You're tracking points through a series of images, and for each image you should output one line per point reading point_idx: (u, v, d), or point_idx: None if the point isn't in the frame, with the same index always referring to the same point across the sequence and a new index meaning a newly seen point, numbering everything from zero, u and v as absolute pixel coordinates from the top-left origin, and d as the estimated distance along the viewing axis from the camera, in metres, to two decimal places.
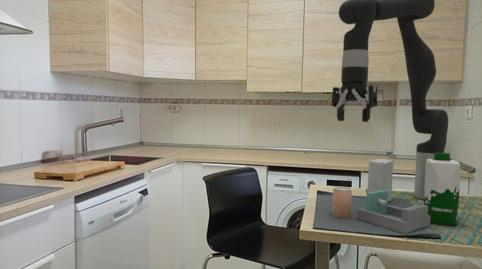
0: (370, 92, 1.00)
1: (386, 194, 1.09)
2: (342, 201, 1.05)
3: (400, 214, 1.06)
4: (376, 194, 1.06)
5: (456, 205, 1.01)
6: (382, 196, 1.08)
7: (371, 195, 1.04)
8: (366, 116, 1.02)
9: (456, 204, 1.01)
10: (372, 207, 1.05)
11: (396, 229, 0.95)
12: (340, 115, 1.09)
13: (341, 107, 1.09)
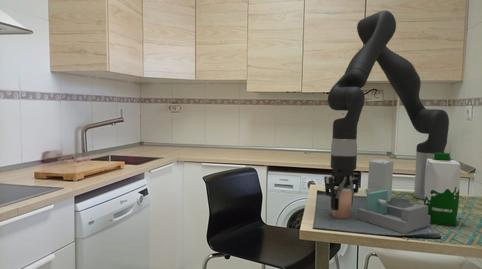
0: (358, 180, 1.10)
1: (386, 194, 1.09)
2: (342, 201, 1.05)
3: (400, 214, 1.06)
4: (376, 194, 1.06)
5: (456, 205, 1.01)
6: (382, 196, 1.08)
7: (371, 195, 1.04)
8: (352, 202, 1.10)
9: (456, 204, 1.01)
10: (372, 207, 1.05)
11: (396, 229, 0.95)
12: None
13: None
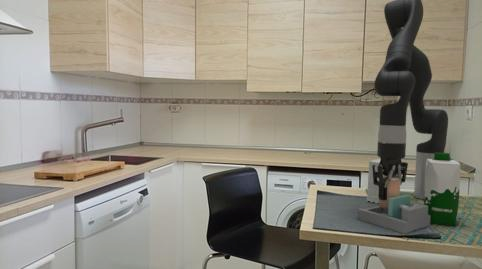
0: (406, 169, 1.06)
1: (408, 199, 1.03)
2: (391, 191, 1.01)
3: None
4: (398, 199, 1.00)
5: (455, 205, 1.01)
6: (405, 202, 1.02)
7: (393, 200, 0.98)
8: None
9: (456, 204, 1.01)
10: (394, 213, 0.99)
11: (396, 229, 0.95)
12: None
13: None
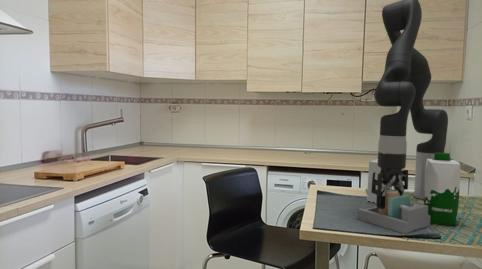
0: (407, 176, 1.06)
1: (408, 199, 1.03)
2: None
3: None
4: (398, 199, 1.00)
5: (455, 205, 1.01)
6: (404, 202, 1.02)
7: (393, 200, 0.99)
8: None
9: (456, 204, 1.01)
10: (394, 213, 0.99)
11: (396, 229, 0.95)
12: None
13: None
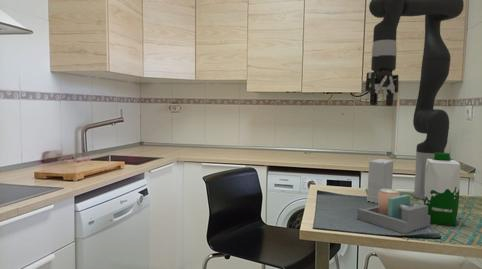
0: (397, 80, 1.20)
1: (408, 199, 1.03)
2: None
3: None
4: (398, 199, 1.00)
5: (456, 205, 1.01)
6: (404, 201, 1.02)
7: (393, 200, 0.99)
8: (392, 101, 1.20)
9: (456, 204, 1.01)
10: (394, 213, 0.99)
11: (396, 229, 0.95)
12: None
13: None
